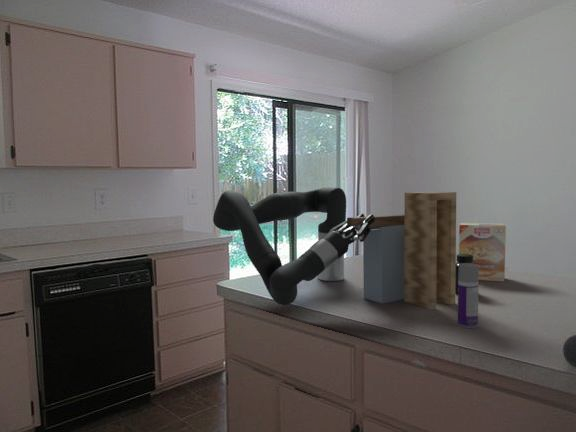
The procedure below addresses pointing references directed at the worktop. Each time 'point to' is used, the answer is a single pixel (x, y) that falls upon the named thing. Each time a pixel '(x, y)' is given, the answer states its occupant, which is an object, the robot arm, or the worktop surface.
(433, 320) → the worktop surface
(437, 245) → the slotted wooden post
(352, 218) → the rail
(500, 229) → the coffeecake box
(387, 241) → the tall grey pillar
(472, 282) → the container
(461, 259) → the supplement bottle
